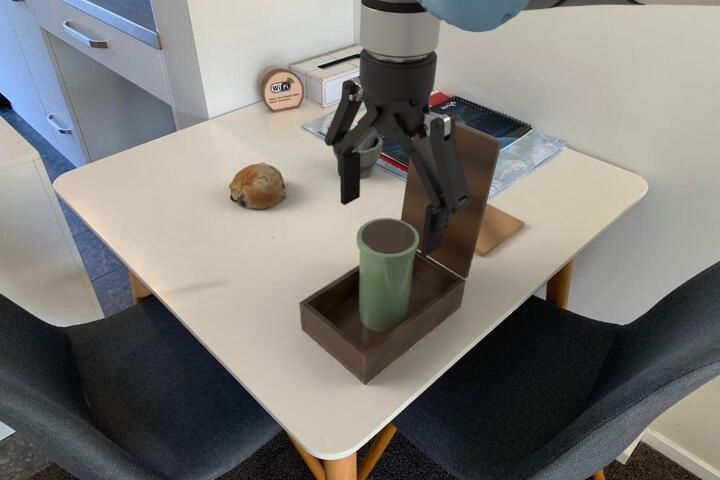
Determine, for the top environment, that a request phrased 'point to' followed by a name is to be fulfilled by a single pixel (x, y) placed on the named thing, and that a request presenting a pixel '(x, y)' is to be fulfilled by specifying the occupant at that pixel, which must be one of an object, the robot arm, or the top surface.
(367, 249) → the green pot
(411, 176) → the bin lid
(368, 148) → the mortar and pestle
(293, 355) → the top surface
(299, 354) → the top surface
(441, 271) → the bin
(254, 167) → the bread roll
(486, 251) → the cork mat
